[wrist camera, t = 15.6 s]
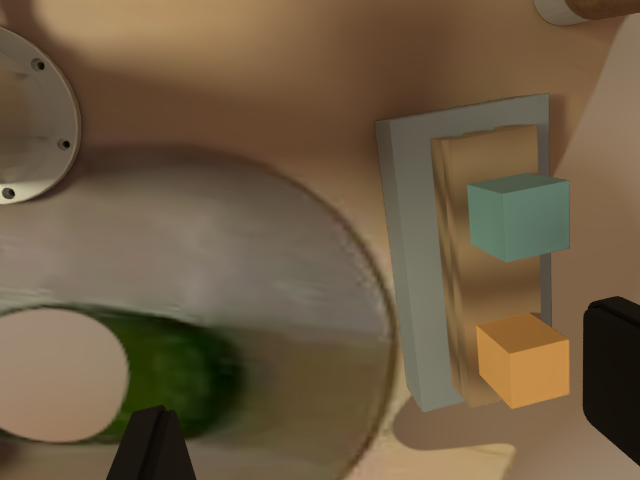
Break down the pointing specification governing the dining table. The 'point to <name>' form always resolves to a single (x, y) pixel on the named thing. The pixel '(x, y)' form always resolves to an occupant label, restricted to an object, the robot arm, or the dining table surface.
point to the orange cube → (523, 359)
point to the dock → (422, 230)
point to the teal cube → (519, 216)
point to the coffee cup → (583, 10)
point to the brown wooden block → (471, 262)
